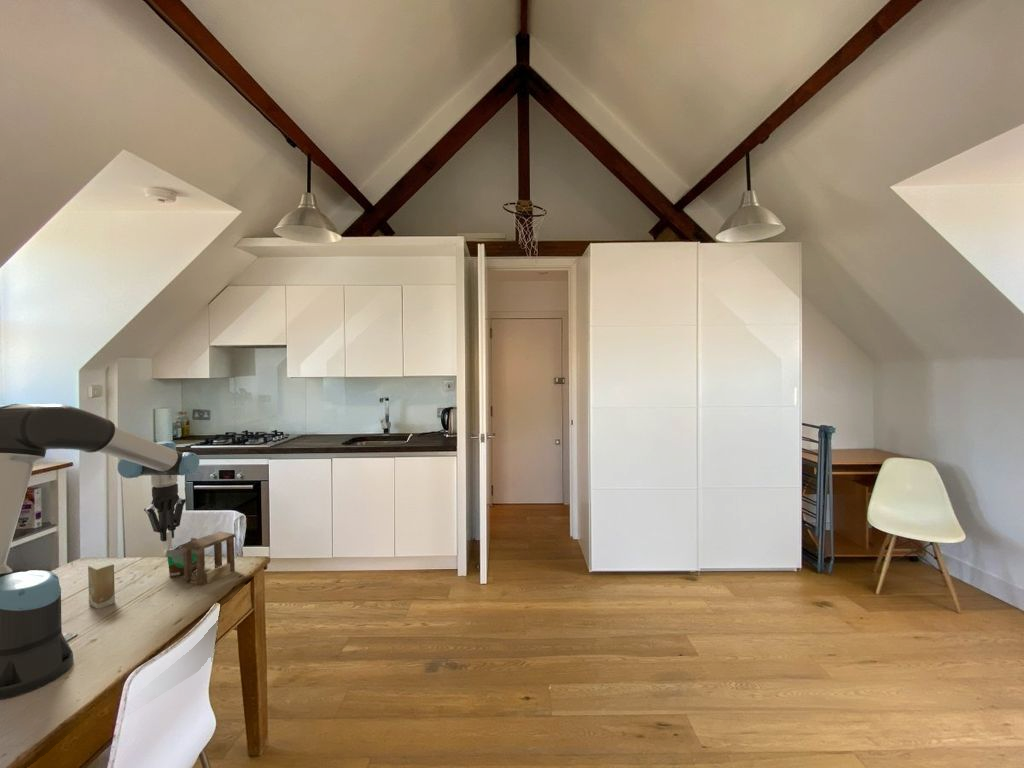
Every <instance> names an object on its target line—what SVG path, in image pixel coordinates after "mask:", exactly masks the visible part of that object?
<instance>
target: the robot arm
mask: <svg viewBox="0 0 1024 768" xmlns="http://www.w3.org/2000/svg"><path fill="white" fill-rule="evenodd" d="M47 450H74V451H75V450H76V451H82V452H85V453H87V454H88V453H91V454H92V453H97V452H99V453H101V454H105V455H109V456H110V457H113V458H114V457H115V458H118V459H120V460H119V461H118V463H117V472H118V474H119V476H121V477H123V478H125V479H134V478H139V477H142V476H151V477H150V481H151V482H150V483H151V486H152V487H151V497H152V500H151V502H150V506H148V507H145V508H144V509H143V511H144V512H145V513H146V514H147V516H148V519H149V522H150V525H151V529H152V530H153V532H154V533H159V535H160V536H159V537H160V541H161V542H162V549H163V550H166V551H167V550H173V539H174V538H175V531H176V529H177V527H180V525H181V519H182V515H183V510H184V506H185V504H186V502H187V499H186V498H181V497H180V496H179V494H178V493H179V484H178V476H181V477H182V476H189V475H191V476H192V475H193V474H194V473H196V472H197V471H198V469H199V467H200V458H199V455H198V454H196V452H195V453H194V452H189V451H186V452H181V451H178V450H177V445H176V443H175V442H174V441H170V440H169V441H167V440H166V441H156V442H155V441H153V440H150V439H147V438H145V437H143V436H140V435H137V434H135V433H133V432H129V431H128V430H125V429H122V428H120V427H117V426H116V424H115V423H114V422H113V421H112V420H110V419H107V418H105V417H102V416H100V415H98V414H95V413H92V412H89V411H87V410H83V409H80V408H79V407H74V406H70V405H66V404H60V403H59V404H58V403H47V404H45V403H44V404H43V403H37V404H36V403H11V404H4V405H1V404H0V700H6V699H9V698H14V697H17V696H20V695H23V694H26V693H29V692H31V691H34V690H36V689H39V688H41V687H43V686H45V685H47V684H49V683H51V682H53V681H55V680H56V679H58V678H60V677H61V676H63V675H64V674H65V673H66V672H68V671H69V670H70V669H71V667H72V666H73V664H74V653H73V650H72V648H71V646H70V645H69V643H68V640H67V639H66V638H65V636H64V634H63V630H62V629H63V627H62V587H61V585H60V579H59V576H58V575H57V574H56V573H54V572H52V571H48V570H40V569H39V570H38V569H35V570H34V569H33V570H27V571H19V572H13V569H12V568H11V567H10V566H8V565H7V560H8V556H9V553H10V550H11V546H12V543H13V538H14V535H15V532H16V528H17V525H18V522H19V518H20V515H21V511H22V508H23V504H24V500H25V497H26V495H27V494H26V493H27V491H28V488H29V487H28V486H29V484H30V480H31V477H32V474H33V469H34V466H35V465H36V464H37V463H39V462H42V461H43V460H44V459H45V458H46V454H47ZM156 511H157V514H158V515H157V514H156Z"/></svg>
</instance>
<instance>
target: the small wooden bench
mask: <svg viewBox="0 0 1024 768" xmlns="http://www.w3.org/2000/svg"><path fill="white" fill-rule="evenodd" d="M235 538H236V534H235V533H230V532H224V531H218V532H214V533H211V534H207V535H205V536H203V537H202V536H201V537H199V538H197V539H196V540H194V541H191V540H190V541H191V542H189V541H188V543H187V542H186V543H183V544H182V543H181V545H182V548H183V556H184V576H183V581H184V583H186V584H189V583H195V584H197V586H198V587H202V586H204V585H206V584H210V583H212V582H215V581H217V580H220V579H221V578H223V577H226V576H228V575H230V574H231V573H233V572H235V571H236V570H235V569H236V568H235ZM225 541H226V542H225ZM222 542H225V543H226V545H225V546H226V563H225V564H223V552H222V551H223V549H222V548H223V547H222ZM212 546H213V550H214V551H213V552H214V557H213V558H214V568H213V569H211V570H208V571H206V563H205V562H206V561H205V559H206V557H205V556H206V555H205V549H206V548H209V547H212ZM191 550H196V562H197V570H196V575H193V573H192V551H191Z"/></svg>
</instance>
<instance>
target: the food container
mask: <svg viewBox="0 0 1024 768" xmlns="http://www.w3.org/2000/svg"><path fill="white" fill-rule="evenodd" d="M196 539H198V538H197V537H190V541H188V542H191V541H194V540H196ZM188 542H186V543H188ZM191 551H192V574H193V573H194V571H195V572H197V562H196V550H191ZM165 557H166V558H167V563H168V565H167V566H168V571H169V578H170V579H173V578H181V577H184V556H183V548H182V544H179V545H178V546H177V547H175V548H174V549H169V550H166V553H165Z"/></svg>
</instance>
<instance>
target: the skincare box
mask: <svg viewBox="0 0 1024 768" xmlns="http://www.w3.org/2000/svg"><path fill="white" fill-rule="evenodd" d="M87 573H88V574H87V575H88V604H89V605H90V606H92V608H95V609H97V610H98V609H101V608H102V609H103V608H104V607H108V606H110V605H113V604H115V603H116V593H115V592H116V590H115V588H116V587H115V564H114V563H112V562H110V561H107V560H101V561H98V562H95V563H91V564H88V565H87Z"/></svg>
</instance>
